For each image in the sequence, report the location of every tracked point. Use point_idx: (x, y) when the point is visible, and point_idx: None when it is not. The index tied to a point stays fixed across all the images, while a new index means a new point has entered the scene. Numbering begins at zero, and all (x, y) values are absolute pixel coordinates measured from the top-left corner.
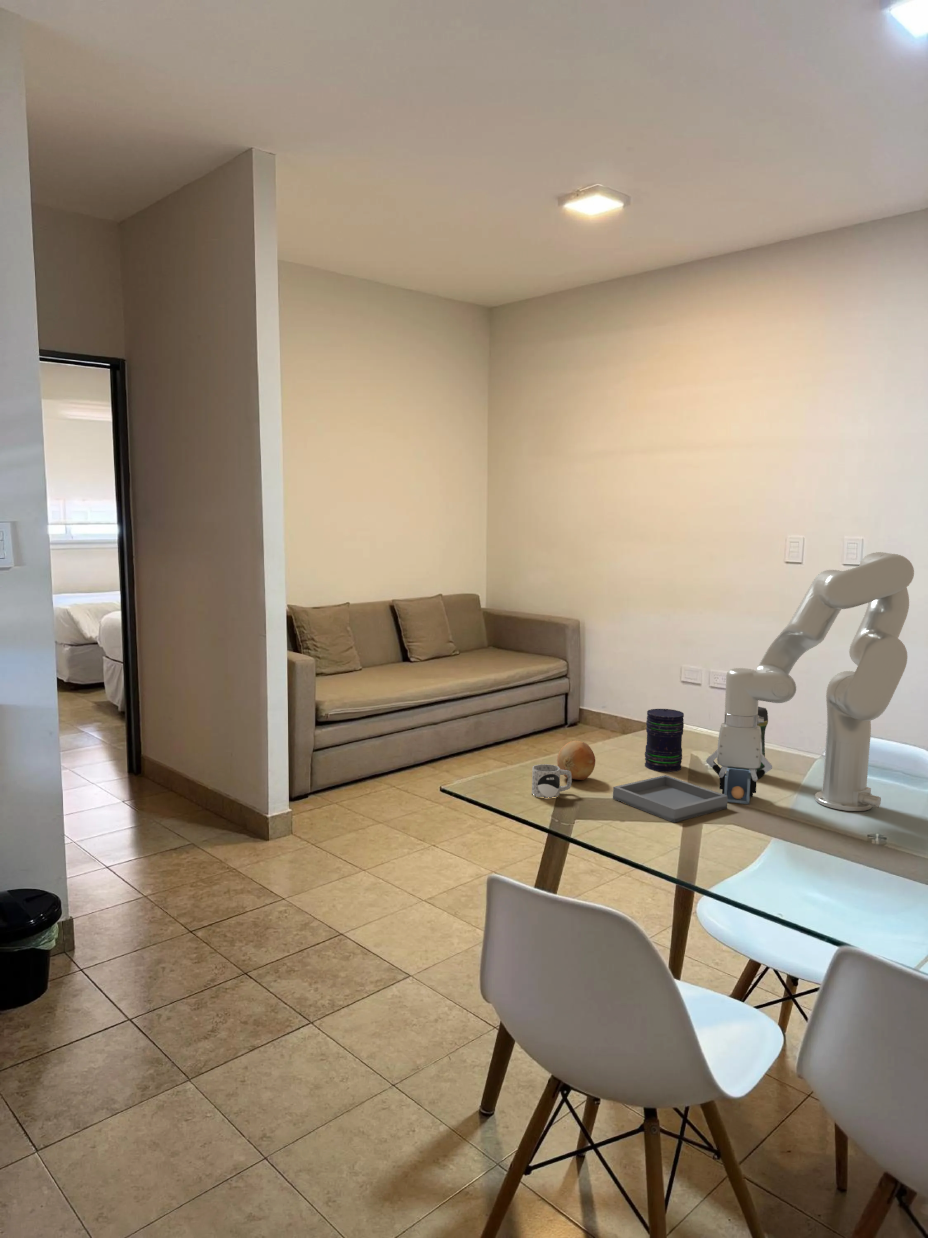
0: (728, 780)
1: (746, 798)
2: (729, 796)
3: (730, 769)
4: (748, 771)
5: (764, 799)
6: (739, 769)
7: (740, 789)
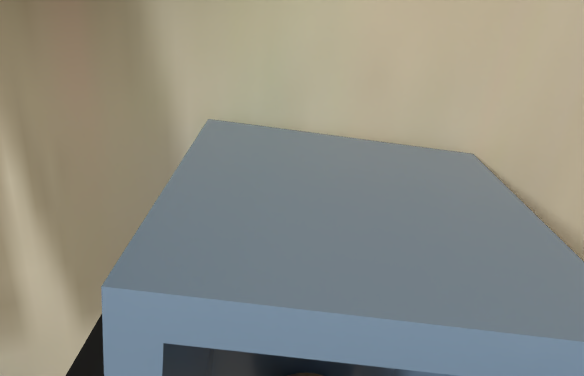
0: (194, 361)
1: (389, 374)
2: (234, 354)
3: (190, 335)
4: (581, 373)
5: (579, 252)
6: (397, 349)
7: None
